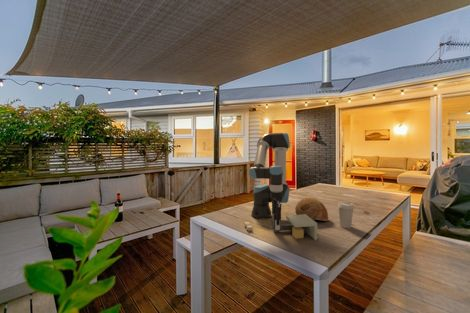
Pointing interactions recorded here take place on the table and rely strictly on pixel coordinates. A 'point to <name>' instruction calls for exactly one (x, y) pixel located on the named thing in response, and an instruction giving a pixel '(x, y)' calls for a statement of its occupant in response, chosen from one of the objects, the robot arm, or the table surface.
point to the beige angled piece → (304, 223)
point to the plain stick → (248, 226)
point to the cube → (298, 232)
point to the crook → (284, 225)
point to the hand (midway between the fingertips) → (276, 228)
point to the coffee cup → (345, 214)
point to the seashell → (312, 209)
